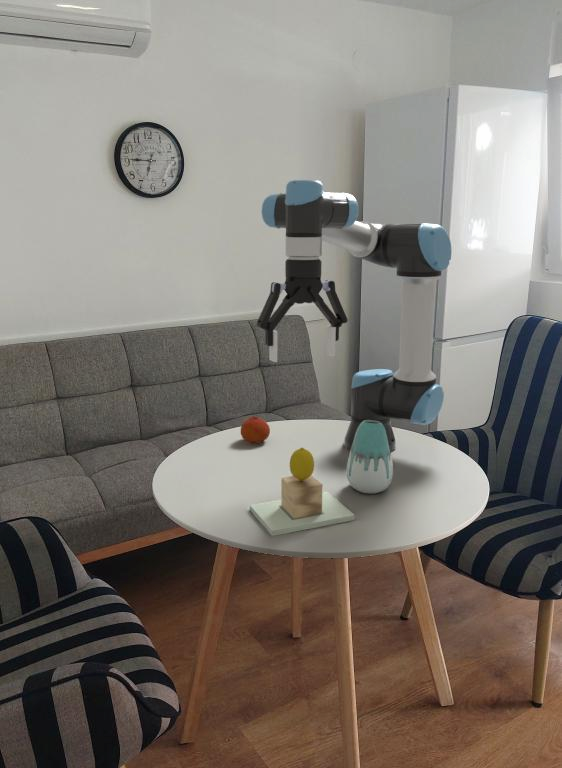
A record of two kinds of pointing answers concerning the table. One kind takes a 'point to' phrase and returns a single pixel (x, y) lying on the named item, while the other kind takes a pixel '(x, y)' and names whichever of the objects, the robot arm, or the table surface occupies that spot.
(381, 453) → the vase
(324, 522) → the board
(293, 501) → the oak cube
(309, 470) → the lemon
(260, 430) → the fruit
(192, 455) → the table surface
